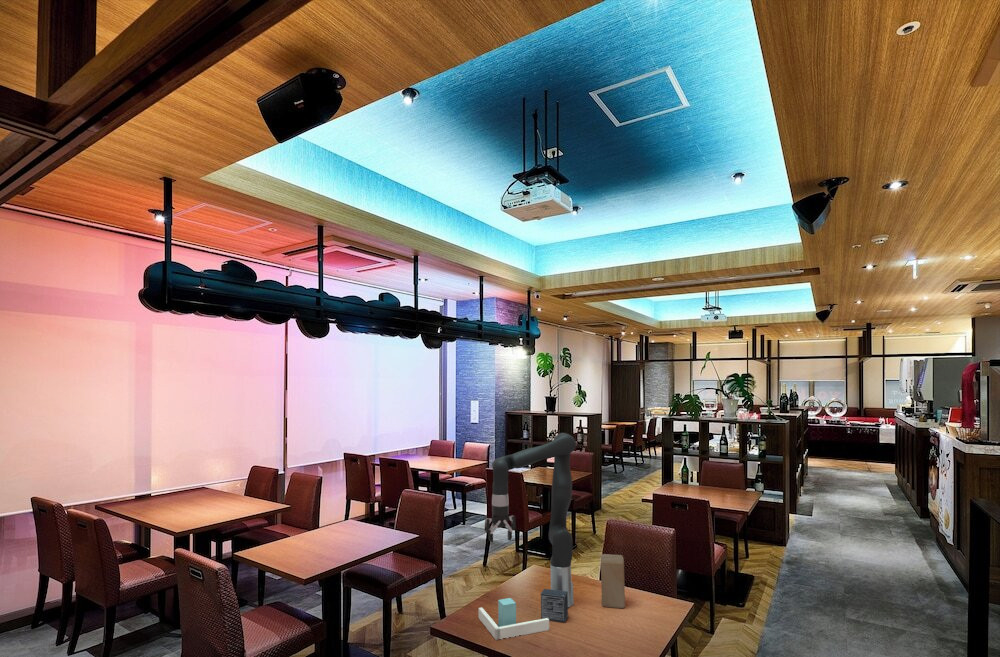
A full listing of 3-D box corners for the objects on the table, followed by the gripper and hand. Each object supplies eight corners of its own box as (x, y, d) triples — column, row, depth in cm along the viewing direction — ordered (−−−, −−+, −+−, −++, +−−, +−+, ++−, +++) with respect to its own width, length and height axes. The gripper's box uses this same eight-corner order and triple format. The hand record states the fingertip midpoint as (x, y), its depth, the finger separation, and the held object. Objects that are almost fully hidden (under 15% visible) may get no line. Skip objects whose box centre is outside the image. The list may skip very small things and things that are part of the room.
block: (625, 609, 231) (623, 561, 233) (601, 607, 233) (600, 560, 235) (624, 600, 241) (623, 554, 243) (602, 598, 243) (601, 553, 245)
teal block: (510, 623, 218) (510, 597, 219) (516, 629, 213) (516, 603, 214) (498, 625, 216) (498, 599, 217) (503, 631, 211) (503, 605, 212)
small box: (568, 616, 224) (568, 590, 225) (565, 623, 218) (565, 596, 219) (544, 613, 228) (544, 587, 229) (540, 619, 222) (540, 593, 223)
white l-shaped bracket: (527, 609, 232) (527, 599, 232) (549, 630, 212) (549, 619, 213) (478, 617, 223) (478, 608, 224) (496, 640, 204) (496, 629, 204)
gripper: (488, 507, 233) (488, 545, 231) (518, 504, 238) (518, 541, 236) (482, 503, 240) (482, 540, 238) (511, 500, 245) (511, 536, 243)
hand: (500, 541), depth 237 cm, fingers open, 8 cm apart
